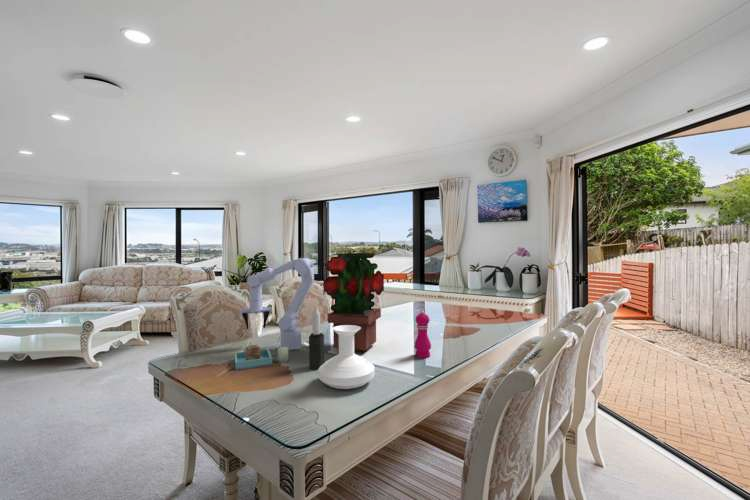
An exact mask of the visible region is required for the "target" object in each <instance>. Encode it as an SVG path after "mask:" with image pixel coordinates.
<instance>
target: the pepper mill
mask: <svg viewBox="0 0 750 500" xmlns="http://www.w3.org/2000/svg"><path fill="white" fill-rule="evenodd" d="M415 322H416V329H417V337H416V339H415V341H414V349H415V357H416V358H420V359H426V358H430V357H431V351H430V350H431V348H432V343H431V341H430V339H429V336H428V329H429V325H428V324H429V323H430V317H429V315H428V314H426V313H425V310H423V309H422V310H420V313H419V314H417V315H416V317H415Z"/></svg>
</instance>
